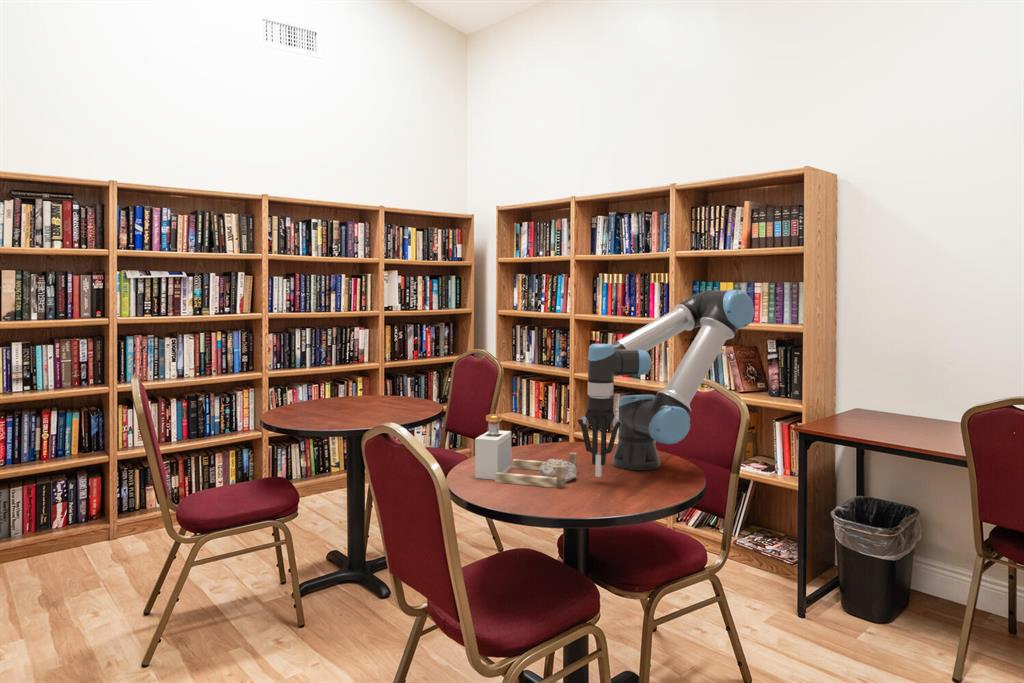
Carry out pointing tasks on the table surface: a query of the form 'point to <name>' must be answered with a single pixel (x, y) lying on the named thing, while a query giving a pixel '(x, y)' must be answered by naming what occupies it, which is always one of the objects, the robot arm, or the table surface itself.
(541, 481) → the track
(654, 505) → the table surface
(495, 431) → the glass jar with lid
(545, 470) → the rock
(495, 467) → the white button box
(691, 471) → the table surface
